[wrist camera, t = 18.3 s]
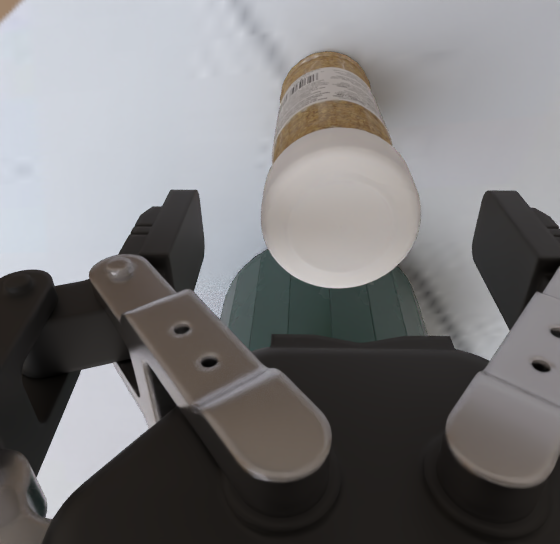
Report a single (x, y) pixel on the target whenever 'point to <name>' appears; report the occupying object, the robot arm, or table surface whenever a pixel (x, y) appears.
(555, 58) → the table surface
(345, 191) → the sprinkles bottle
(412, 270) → the table surface
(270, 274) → the tin
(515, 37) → the table surface
